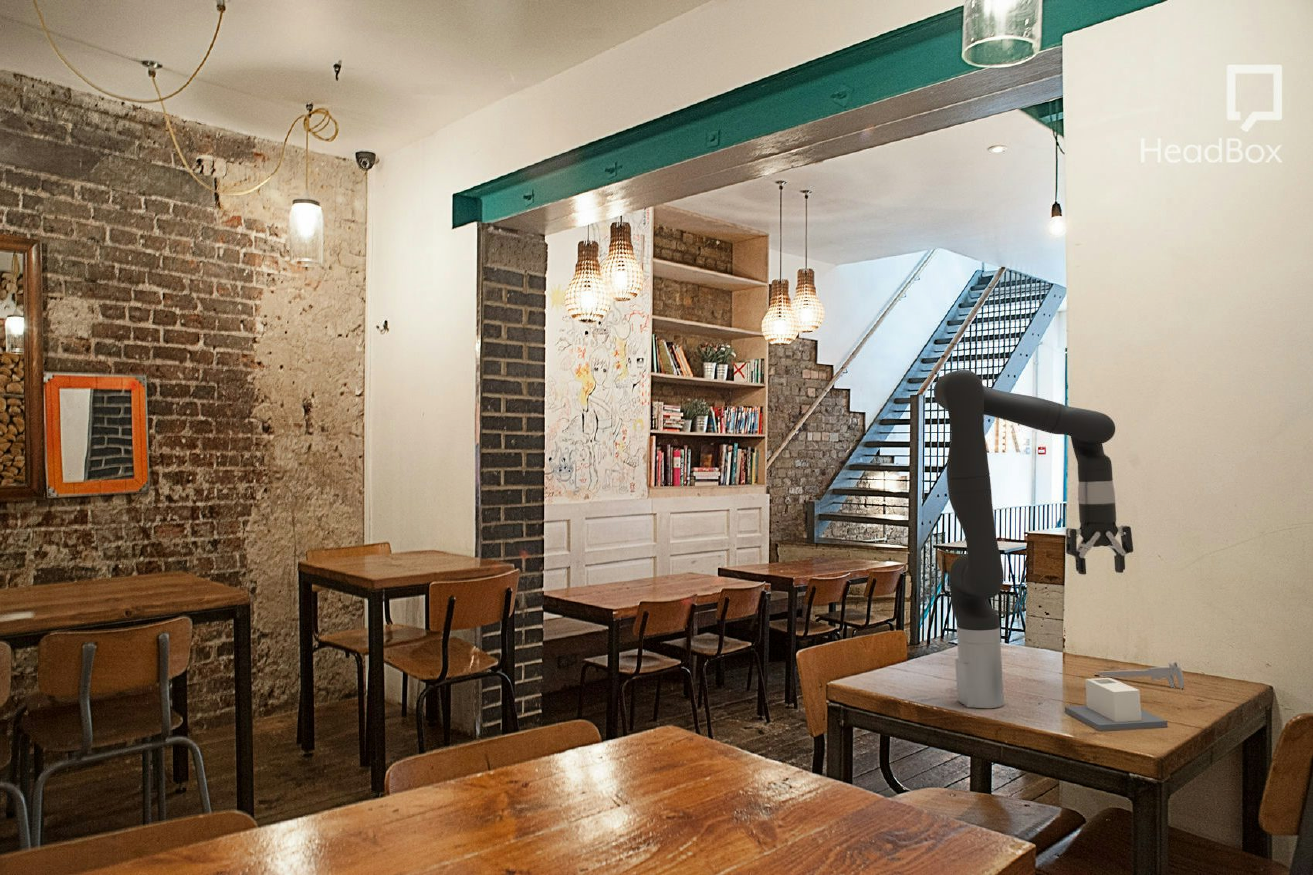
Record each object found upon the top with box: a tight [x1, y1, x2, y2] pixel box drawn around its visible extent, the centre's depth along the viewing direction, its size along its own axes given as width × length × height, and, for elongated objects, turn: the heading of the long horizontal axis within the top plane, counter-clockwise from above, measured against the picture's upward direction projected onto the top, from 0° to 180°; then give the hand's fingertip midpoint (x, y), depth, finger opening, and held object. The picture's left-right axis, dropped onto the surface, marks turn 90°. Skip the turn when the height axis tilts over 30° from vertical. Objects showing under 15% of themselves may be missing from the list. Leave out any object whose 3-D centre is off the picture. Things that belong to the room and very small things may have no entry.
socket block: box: [1084, 677, 1142, 722], centre depth 188 cm, size 5×11×6 cm, turn 3°
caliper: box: [1096, 661, 1185, 690], centre depth 216 cm, size 20×1×6 cm, turn 40°
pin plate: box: [1064, 704, 1168, 732], centre depth 188 cm, size 14×14×6 cm
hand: (1100, 573), depth 204 cm, fingers open, 8 cm apart
